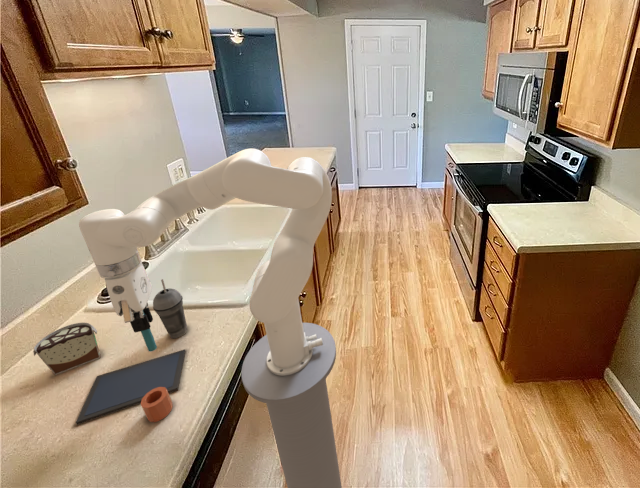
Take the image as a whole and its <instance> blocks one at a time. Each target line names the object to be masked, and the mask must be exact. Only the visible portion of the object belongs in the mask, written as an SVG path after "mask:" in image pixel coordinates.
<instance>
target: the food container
mask: <svg viewBox="0 0 640 488" xmlns="http://www.w3.org/2000/svg"><path fill="white" fill-rule="evenodd" d="M95 334H96V335H97V334H98V330H97V328H96V327H94V325H92V324H91V323H89V322H76V323H72V324H68V325H65V326H63V327H60V328H58V329H56V330H54V331H52V332H50V333H48V334H47V335H46V336H44V337H43V338H41V340H39V341H38V342H37V343H36V345H34V347H33V351H32V353H33V356H34V357H35V356H36V355H38V357H39V358H40V360H42V362H43V363H44V364H45V365H46V367H47V368H48V369H49V370H50V371H51V373H52V374H53V375H54V376H56V375H60V374H62V373H64V372H67V371H69V370H72V369H75V368H78V367H80V366H83V365H85V364H88V363H90V362H93V361H95V360H98V359H101V352H100V349H99V345H98V342H97V338H96V335H95Z"/></svg>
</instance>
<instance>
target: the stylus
mask: <svg viewBox="0 0 640 488" xmlns="http://www.w3.org/2000/svg"><path fill="white" fill-rule="evenodd" d="M133 313H136V312H135V311H134V312H133ZM137 313H138V312H137ZM143 313H144V312H143ZM144 315H145V314H144ZM140 334H141V336H142V339H143V341H144V344H145V346H146V348H147V351H148V352H150V353H151V352H154V351H156V350H157V349H158V346H157V343H156V340H155V338H154V335H153V333H152V330H151V328H150V329H147V330H144V331H140Z"/></svg>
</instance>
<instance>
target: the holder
mask: <svg viewBox="0 0 640 488" xmlns="http://www.w3.org/2000/svg"><path fill="white" fill-rule="evenodd" d="M140 406H141V409H142V411H143V413H144V415H145V417H146V419H147V421H148V422H150V423H157V422H160V421H161V420H164V418H166V417H168V416H169V414H171V411H172V410H173V407H174V404H173V401H172V398H171V396H170V393H168V391H167V389H166V388H165V387H158V388H155V389H152V390H151V391H149V392H148V393H147V394H146V395H145V396H144V397H143V398H142V400H141V403H140Z"/></svg>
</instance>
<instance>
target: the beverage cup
mask: <svg viewBox="0 0 640 488" xmlns="http://www.w3.org/2000/svg"><path fill="white" fill-rule="evenodd" d="M160 281H161V285H162V290H160V291H159V292H157V293H156V295H155V296H154V298H153V300H152V309H153V310H154V312H155V313H156V315H158V317H159V319H160V321H161V323H162V325H163V327H164V328H165V330H166V332H167V333H168V335H169V337H170V338H171V339H179V338H181V337H182V336H184V335H185V334H186V333H187V332H188V326H187V319H186V315H185V310H184V306H183V305H184V304H183V303H184V301H183V299H184V298H183V295H182V294H181V292H179V291H178V290H177V289H176V288H175V289H174V288H166V284H165V281H164V279H163V278H161V279H160Z"/></svg>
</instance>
